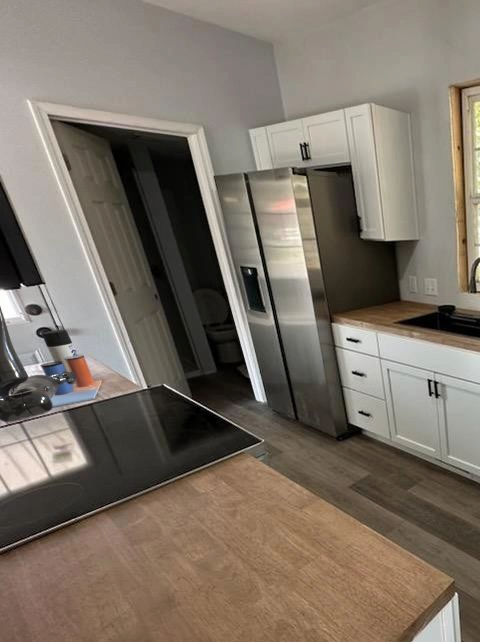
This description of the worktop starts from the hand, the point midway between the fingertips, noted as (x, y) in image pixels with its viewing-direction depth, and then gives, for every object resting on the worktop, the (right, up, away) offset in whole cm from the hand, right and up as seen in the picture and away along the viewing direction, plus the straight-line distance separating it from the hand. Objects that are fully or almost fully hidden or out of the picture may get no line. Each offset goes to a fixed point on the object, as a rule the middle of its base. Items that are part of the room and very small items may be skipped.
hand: (48, 377), depth 136 cm
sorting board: (-3, -6, +10) cm, 12 cm away
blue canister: (-7, -5, +11) cm, 14 cm away
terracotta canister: (-6, -3, +18) cm, 19 cm away
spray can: (-16, -1, +24) cm, 29 cm away
